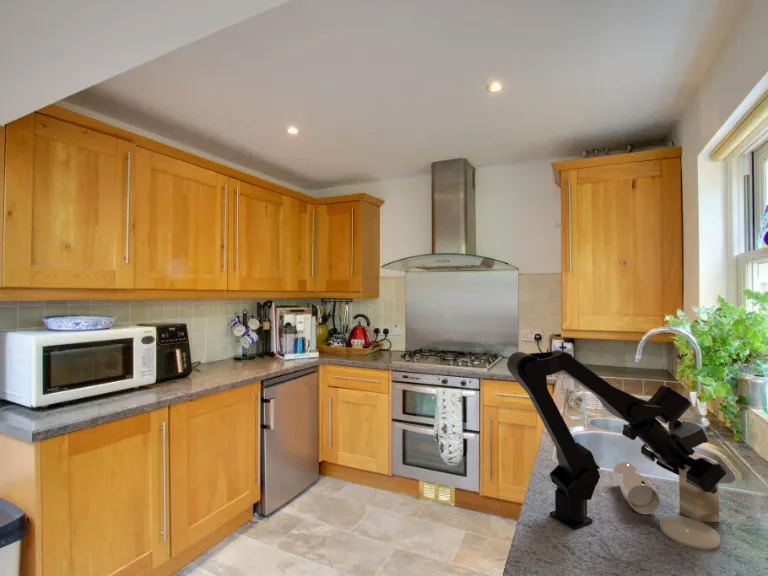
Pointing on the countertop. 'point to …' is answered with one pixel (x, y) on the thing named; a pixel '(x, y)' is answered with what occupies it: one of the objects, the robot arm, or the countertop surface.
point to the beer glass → (636, 489)
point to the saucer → (690, 532)
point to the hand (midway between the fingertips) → (704, 486)
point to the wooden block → (698, 498)
